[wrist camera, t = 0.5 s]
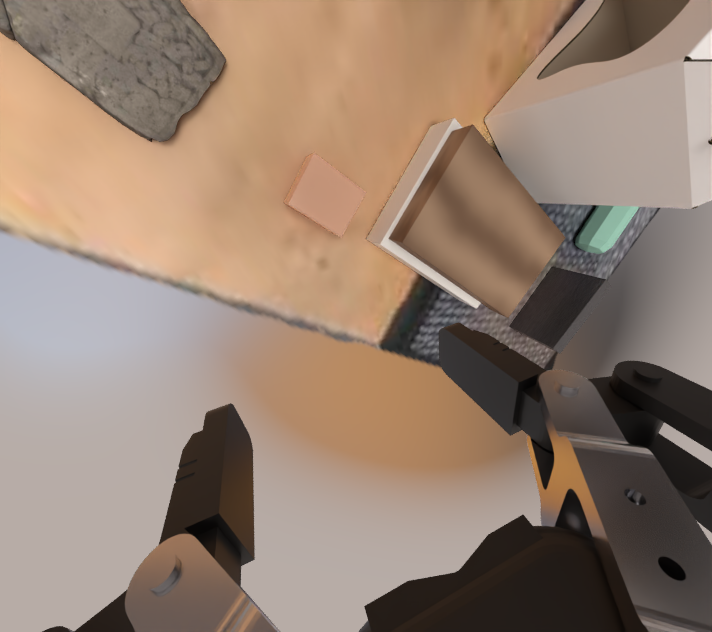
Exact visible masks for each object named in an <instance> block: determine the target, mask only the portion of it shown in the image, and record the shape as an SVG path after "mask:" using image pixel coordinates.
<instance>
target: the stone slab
mask: <svg viewBox="0 0 712 632" xmlns="http://www.w3.org/2000/svg"><path fill="white" fill-rule="evenodd" d="M0 32H1V33H3V34H4V35H5V36H6V37H8V38H10V39H12V40H14V39H16V40H17V42H18V43H19V44H20V45H21V46H22V47H23V48H24V49H26V50H27V51H28V52H29V53H30V54H32V55H33V56H34V57H36V58H37V59H38V60H40V61H41V62H42V63H43V64H45V65H46V66H47V67H49V68H50V69H51V70H52V71H54V72H55V73H56V74H57V75H59V76H60V77H61V78H63V79H64V80H65V81H66V82H68V83H69V84H70V85H72V86H73V87H74V88H76V89H77V90H79V91H80V92H81V93H82V94H83V95H85V96H86V97H88V98H89V99H90V100H91V101H92V102H94V103H95V104H96V105H97V106H99V107H100V108H101V109H102V110H104V111H105V112H106V113H107V114H109V115H110V116H112V117H113V118H114V119H116V120H117V121H118V122H120V123H121V124H122V125H124V126H126V127H127V128H129V129H130V130H132V131H134V132H135V133H136V134H138V135H140V136H141V137H144V138H145V139H147V140H149V141H151V138H152V139H155V140H157V141H159V142H161V141H166V140H169V139H170V137H171V136H172V135H173V134H174V133H175V129H176V126H177V122H178V120H179V119H180V117H181V116H182V114H184V113H186V112H188V111H190V110H191V109H192V108H194V107H195V106H196V105H197V104H198V102H199V100H200V98H201V97H202V95H203V94H204V92H205V91H206V90H207V89H208V87H209V86H210V81H212V82H213V81H215V80H216V78H217V77H218V75H219V74H220V72H221V70H222V68H223V65H224V63H225V62H226V59H225V57H224V55H223V54H222V53H221V51H220V50H219V49H218V47H217V46H216V45H215V43H214V42H213V41H212V40H211V38H210V37H209V35H208V34H207V32H206V31H205V30H204V29H203V28H202V27H201V26H200V24H199V23H198V22H197V21H196V20H195V19H194V18H193V17H192V16H191V15H190V14H189V13H188V11H187V10H186V8H185V7H184V5H183V4H182V3H181V2H180V0H0ZM151 142H152V141H151Z"/></svg>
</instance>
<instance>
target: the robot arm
mask: <svg viewBox="0 0 712 632" xmlns="http://www.w3.org/2000/svg"><path fill="white" fill-rule="evenodd" d="M439 360H440V364H441V367H442V369H443V371H444V372H445V373H446V375H448V377H450V378H451V379H452V380H453V381H454V382H455V383H456V384H457V385H458V386H459V387H460V388H461V389H462V390H463V391H464V392H465V393H466V394H467V395H469V397H471V398H472V399H473V400H474V401H475V402H476V403H477V404H478V405H479V406H480V407H481V408H482V409H483V410H484V411H485V412H486V413H487V414H488V415H489V416H491V417H492V419H494V420H495V421H496V422H497V423H498V424H499V425H500V426H501V427H502V428H503V429H504V430H505V431H506V432H507V433H508V434H509V435H513V434H515V433H516V432H519V431H521V430H523V431H524V432H525V433H526V434H527V444H528V448H529V453H530V457H531V461H532V465H533V469H534V474H535V478H536V481H537V486H538V490H539V495H540V502H541V524H542V526H532V525H531V523H530V522H529V521H528V520H527V519H526V517H525V516H524V515H522V516H520V517H518V518H516V519H515V520H513V521H511V522H509V523H508V524H506V525H504V526H503V527H501V528H499V529H497V530H496V531H494V532H492V533H491V534H489V535H488V536H487V537H486V538H485V539H484V541H483V542H482V543H481V544H480V546H479V547H478V548H477V549H476V551H475V552H474V553H473V554H472V555H471V557H470V558H469V559H468V560H467V562H466V563H465V564H464V565H463V567H462V568H461V569H460V570H459V571H457V572H455V573H450V574H445V575H439V576H434V577H428V578H423V579H417V580H411V581H407V582H406V583H404V584H402V585H400V586H399V587H397V588H395V589H393V590H392V591H390V592H388V593H387V594H385V595H383V596H381V597H380V598H378V599H376V600H375V601H373V602H371V603H369V604H367V605H366V606H365V610H366V614H367V617H368V621H367V622H366V623H365V625H364V626H363V627H362V628H361V629H360V630H359V632H712V545H711V543H710V542H709V540H708V539H707V537H706V536H705V534H704V532H703V531H702V529H701V528H700V526H699V524H698V523H697V521H698V522H699V523H700V524H701V525H703V526H704V527H705V528H706V529H708V530H709V531H710V532H712V468H711V467H710V466H708V465H707V464H705V463H704V462H702V461H701V460H699V459H697V458H696V457H694V456H693V455H691V454H690V453H688V452H687V451H685V450H683V449H682V448H680V447H679V446H677V445H676V444H674V443H673V442H671V441H669V440H668V439H666V438H665V437H663V436H662V435H660V434H659V431H660V429H661V427H662V425H663V423H664V422H665V423H667V424H668V425H670V426H671V427H673V428H675V429H676V430H678V431H679V432H681V433H683V434H685V435H686V436H688V437H689V438H691V439H693V440H694V441H696V442H698V443H699V444H701V445H703V446H704V447H706V448H708V449H709V450H711V451H712V391H711V390H709V389H707V388H705V387H703V386H700V385H698V384H696V383H694V382H692V381H690V380H687V379H686V378H683V377H681V376H679V375H677V374H675V373H673V372H671V371H669V370H667V369H664V368H662V367H660V366H657V365H654V364H650V363H646V362H640V361H624V362H620V363H618V364H617V365H616V366H615V368H614V371H613V374H612V376H611V377H602V378H593V379H586V378H584V377H583V376H581V375H578V374H576V373H573V372H569V371H564V370H549V371H546V370H545V369H543V368H541V367H540V366H538V365H537V364H535V363H533V362H532V361H530V360H528V359H527V358H525V357H524V356H522V355H520V354H519V353H517V352H516V351H514V350H512V349H509V347H508V346H506V345H504V344H503V343H500V342H499V341H498V340H496V339H495V338H493V337H491V336H490V335H488V334H485V333H482V332H479V331H475V330H473V331H472V330H470V329H469V328H467V327H465V326H464V325H462V324H461V323H455V324H453V325H450V326H447V327H444V328H441V329H440V331H439ZM175 480H176V483H175V484H174V488H173V491H172V495H171V500H170V503H169V507H168V511H167V515H166V519H165V523H164V527H163V531H162V535H161V539H160V542H159V545H158V546H157V547H156V548H155V549H154V550H153V551H152V552H151V553H150V554H149V555H148V556H147V557H146V558H145V559H144V561H143V562H142V563H141V565H140V566H139V567H138V569H137V571H136V572H135V574H134V576H133V578H132V580H131V582H130V584H129V587H128V589H127V590H126V591H125V592H124V593H123V594H121V595H120V596H119V597H118V598H117V599H115V600H114V601H113V602H111V603H110V604H109V605H108V606H106V607H105V608H104V609H103V610H101V611H100V612H99V613H97V614H96V615H95V616H94V617H92V618H91V619H90V620H88V621H87V622H86V623H85V624H83V625H82V626H81V627H79V628H78V629H77V630H76V631H72V630H70V629H68V628H65V627H63V626H57V627H53V628H49V629H47V630H45V631H43V632H280V631H279V630H278V628H277V627H276V626H275V625H274V624H273V623H272V622H271V620H270V619H269V618H268V617H267V616H266V615H265V614H264V613H263V611H262V610H261V609H260V608H259V607H258V606H257V605H256V604H255V602H254V601H253V600H252V599H251V598H250V597H249V596H248V594H247V593H246V592H245V591H244V590H243V589H242V588H241V586H240V585H241V566H242V565H244V564H246V563H248V562H251V561H253V560H254V500H253V499H254V495H253V449H252V443H251V439H250V436H249V434H248V431H247V429H246V428H245V426H244V424H243V422H242V420H241V418H240V416H239V414H238V413H237V411H236V409H235V407H234V405H233V404H228V405H225V406H222V407H219V408H217V409H214V410H211V411H208V412H207V413H206V416H205V420H204V426H203V430H202V431H200V432H197V433H194V434H193V435H192V436H191V438H190V440H189V441H188V443H187V444H186V446H185V447H184V449H183V451H182V455H181V459H180V463H179V469H178V471H177V475H176V479H175Z"/></svg>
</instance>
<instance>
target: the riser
mask: <svg viewBox="0 0 712 632" xmlns="http://www.w3.org/2000/svg"><path fill="white" fill-rule="evenodd" d="M460 128H463V127H462V126H461V125H460V124H459V123H458V121H457V120H456V119H455V118H452V119H449V120H446V121H444V122H441V123H438V124H435V125H432V126H430V128H429V130H428V132H427V133H426V135H425V137H424V139H423V140H422V142H421V144H420V146H419V147H418V149H417V151H416V153H415V154H414V156H413V158H412V160H411V161H410V163H409V165H408V167H407V168H406V170H405V172H404V174H403V175H402V177H401V179H400V181H399V182H398V184H397V186H396V188H395V189H394V191H393V193H392V195H391V196H390V198H389V200H388V202H387V203H386V205H385V207H384V209H383V210H382V212H381V214H380V216H379V217H378V219H377V221H376V223H375V224H374V226H373V228H372V230H371V231H370V233H369V235H368V236H367V238H366V239H367V240H368V241H370V242H371V243H373V244H374V245H376V246H377V247H379V248H380V249H382V250H383V251H385V252H386V253H388V254H389V255H391V256H393V257H394V258H396V259H397V260H399V261H400V262H402V263H403V264H405V265H406V266H408V267H409V268H411V269H412V270H414V271H415V272H417V273H418V274H420V275H421V276H423V277H424V278H426V279H427V280H429V281H430V282H432V283H434V284H435V285H437V286H438V287H440V288H441V289H443V290H444V291H446V292H447V293H449V294H450V295H452V296H453V297H455V298H456V299H458V300H460V301H462V302H464V303H466V304H468V305H470V306H472V307H474V308H476V309H477V308H478V306H479V305H480V302H479V301H478V300H476V299H475V298H473V297H472V296H470V295H469V294H468V293H466V292H465V291H463V290H462V289H460V288H459V287H457V286H456V285H455V284H453V283H452V282H450V281H449V280H447V279H446V278H444V277H443V276H442V275H440V274H439V273H437V272H436V271H434V270H433V269H432V268H430V267H429V266H427V265H426V264H424V263H423V262H421V261H420V260H419V259H417V258H416V257H414V256H413V255H411V254H410V253H409V252H407V251H406V250H404V249H403V248H401V247H400V246H398V245H397V244H396V243H394V242H393V241H391V240H390V239H388V238H389V237H390V235H391V233H392V232H393V230H394V228H395V227H396V225H397V223H398V221H399V220H400V218H401V216H402V215H403V213H404V211H405V210H406V208H407V206H408V204H409V203H410V201H411V199H412V198H413V196H414V194H415V193H416V191H417V189H418V187H419V186H420V184H421V182H422V181H423V179H424V177H425V176H426V174H427V172H428V170H429V169H430V167H431V165H432V164H433V162H434V160H435V159H436V157H437V155H438V153H439V152H440V150H441V148H442V147H443V145H444V143H445V142H446V140H447V138H448V136H449V135H450V133H451V131H454V130H457V129H460Z"/></svg>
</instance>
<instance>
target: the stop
mask: <svg viewBox="0 0 712 632" xmlns="http://www.w3.org/2000/svg"><path fill="white" fill-rule="evenodd" d="M610 288H611V285H610V284H609V283H608V282H607V280H606V279H602V278H597V277H593V276H589V275H585V274H581V273H577V272H572V271H568V270H564V269H560V268H556V267H552V268H551V269H550V271H549V272H548V273H547V275H546V276H545V278H544V279H543V280H542V282H541V283H540V285H539V286H538V287H537V289H536V290H535V292H534V293H533V294H532V296H531V297H530V298H529V300H528V301H527V303H526V304H525V305H524V307H523V308H522V310H521V311H520V312H519V314H518V315H517V317H516V318H515V319H514V321H513V322H512V323H511V325H510V326H509V327H511V328H512V329H514V330H515V331H517V332H519V333H521V334H523V335H525V336H527V337H529V338H531V339H533V340H535V341H536V342H538V343H540V344H542V345H544V346H546V347H548V348H550V349H552V350H554V351H556V352H558V353H561V352H562V351H563V349H564V348H565V347H566V345H567V344H568V343H569V341H570V340H571V339H572V338H573V336H574V335H575V333H576V332H577V331H578V330H579V329H580V327H581V326H582V325H583V323H584V322H585V321H586V320H587V318H588V317H589V316H590V314H591V313H592V312H593V311H594V309H595V308H596V307H597V305H598V304H599V303H600V301H601V300H602V299H603V297H604V296H605V295H606V294H607V292H608V291H609V290H610Z"/></svg>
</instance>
